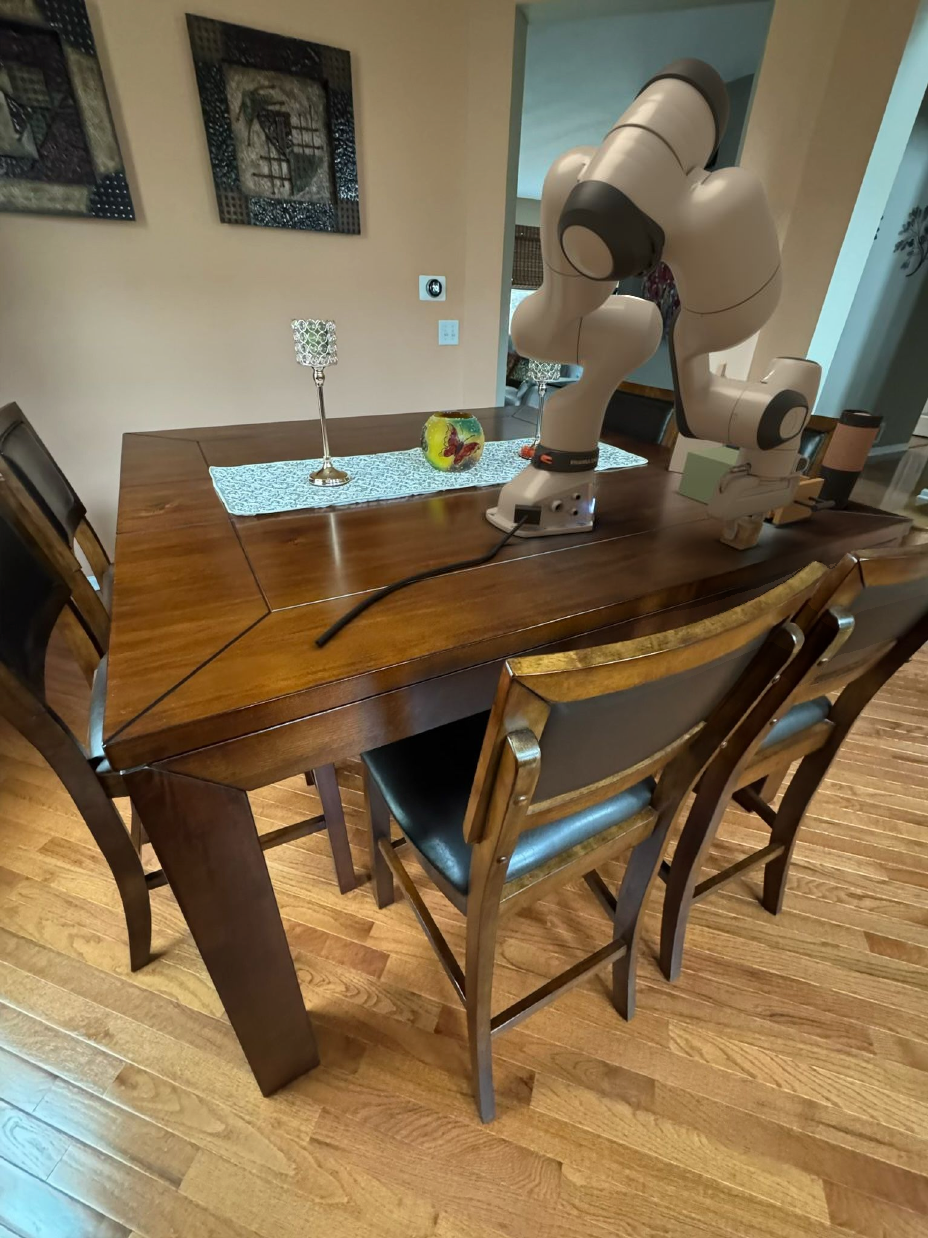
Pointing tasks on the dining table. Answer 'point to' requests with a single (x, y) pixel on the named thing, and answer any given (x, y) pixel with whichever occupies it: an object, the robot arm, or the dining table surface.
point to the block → (744, 534)
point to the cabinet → (705, 471)
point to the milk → (690, 444)
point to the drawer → (802, 502)
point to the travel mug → (847, 455)
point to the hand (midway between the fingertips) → (740, 535)
